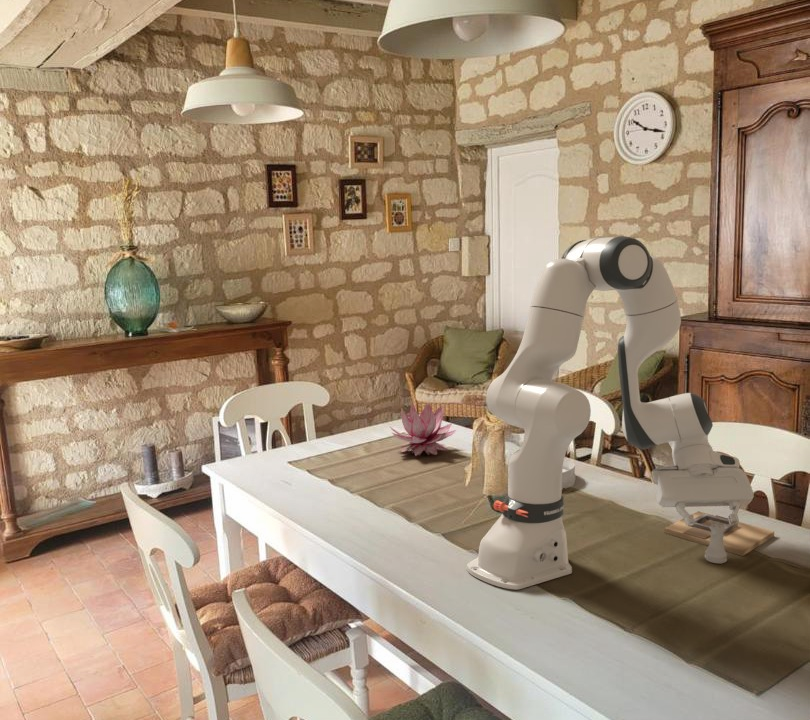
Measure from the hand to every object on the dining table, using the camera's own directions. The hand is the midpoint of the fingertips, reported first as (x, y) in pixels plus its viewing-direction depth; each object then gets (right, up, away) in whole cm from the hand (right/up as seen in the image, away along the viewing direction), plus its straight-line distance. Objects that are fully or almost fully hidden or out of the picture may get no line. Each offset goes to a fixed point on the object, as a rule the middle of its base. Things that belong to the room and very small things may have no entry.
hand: (712, 523), depth 158 cm
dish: (-28, 0, +55) cm, 61 cm away
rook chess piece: (0, -7, -2) cm, 8 cm away
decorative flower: (-60, +5, +84) cm, 103 cm away
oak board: (+6, -5, +12) cm, 15 cm away
